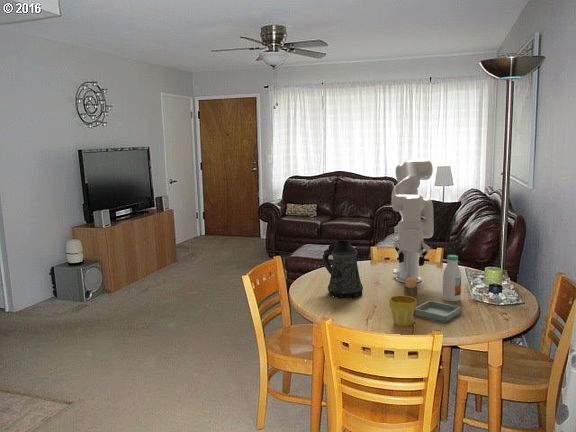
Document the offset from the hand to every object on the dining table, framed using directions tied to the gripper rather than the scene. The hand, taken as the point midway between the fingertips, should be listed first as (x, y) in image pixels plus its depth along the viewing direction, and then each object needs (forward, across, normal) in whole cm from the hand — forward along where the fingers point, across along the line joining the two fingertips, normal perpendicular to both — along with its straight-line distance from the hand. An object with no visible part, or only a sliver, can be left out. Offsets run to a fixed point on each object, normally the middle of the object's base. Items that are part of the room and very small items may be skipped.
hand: (411, 263), depth 210 cm
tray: (+18, +16, -6) cm, 24 cm away
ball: (+9, 0, 0) cm, 9 cm away
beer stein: (+18, -31, -8) cm, 37 cm away
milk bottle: (+18, +12, +16) cm, 26 cm away
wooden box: (+18, 0, +1) cm, 18 cm away
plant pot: (+18, +10, -23) cm, 31 cm away
